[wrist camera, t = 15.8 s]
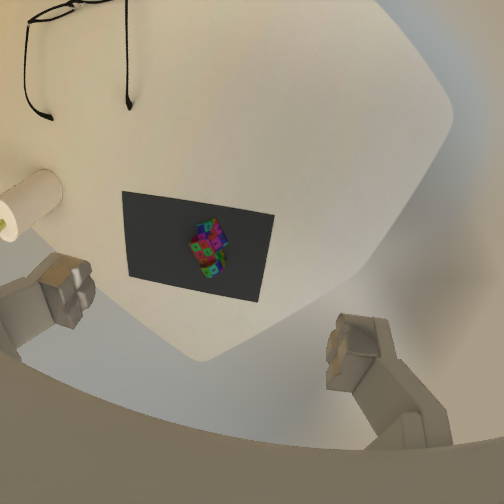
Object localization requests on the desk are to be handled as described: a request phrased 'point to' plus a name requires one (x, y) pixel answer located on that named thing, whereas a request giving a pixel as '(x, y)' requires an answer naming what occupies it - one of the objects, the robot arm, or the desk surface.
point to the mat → (179, 252)
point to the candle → (28, 203)
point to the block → (209, 247)
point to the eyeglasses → (69, 3)
